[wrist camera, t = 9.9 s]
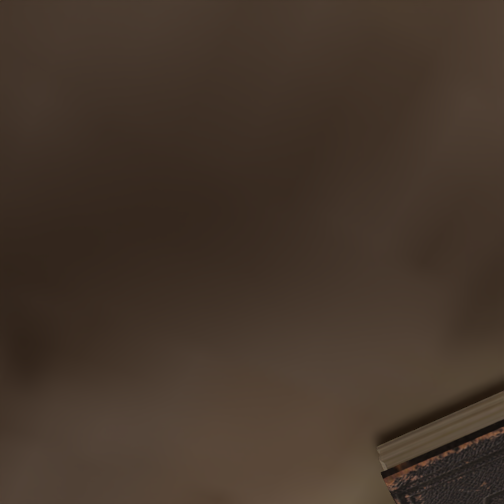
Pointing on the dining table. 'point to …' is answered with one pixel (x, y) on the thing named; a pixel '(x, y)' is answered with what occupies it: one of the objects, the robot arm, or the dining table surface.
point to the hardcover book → (450, 458)
